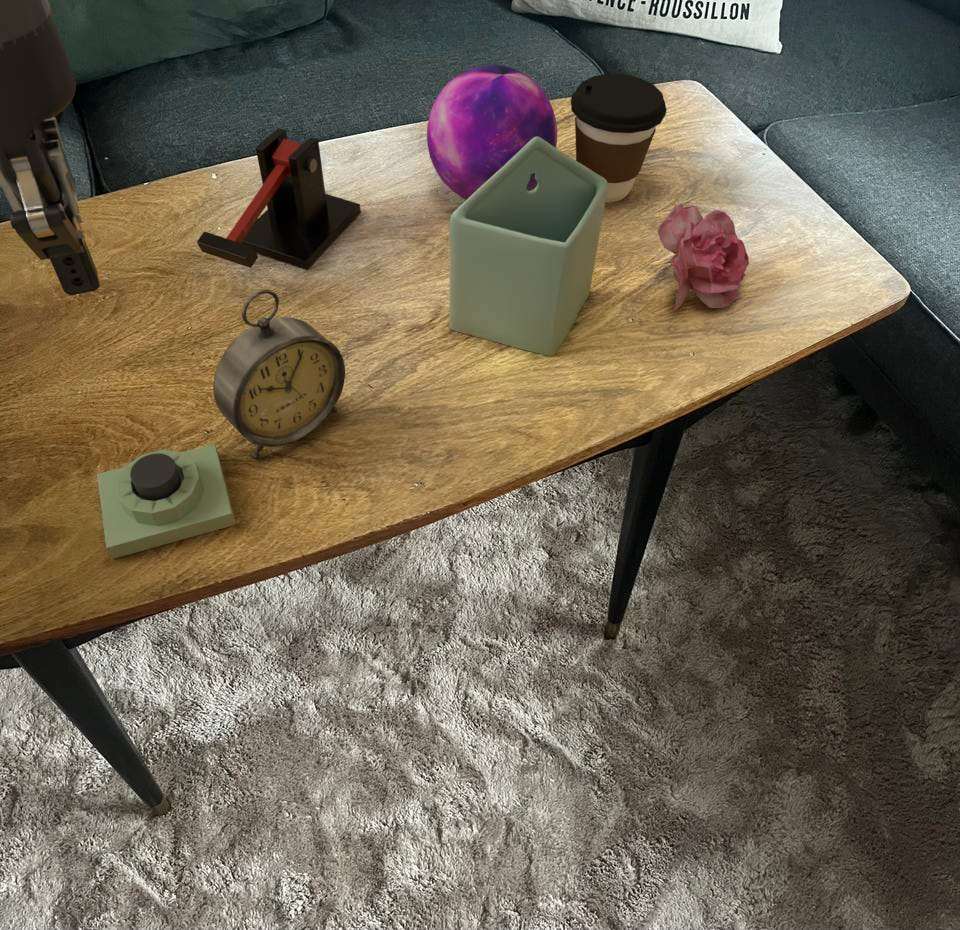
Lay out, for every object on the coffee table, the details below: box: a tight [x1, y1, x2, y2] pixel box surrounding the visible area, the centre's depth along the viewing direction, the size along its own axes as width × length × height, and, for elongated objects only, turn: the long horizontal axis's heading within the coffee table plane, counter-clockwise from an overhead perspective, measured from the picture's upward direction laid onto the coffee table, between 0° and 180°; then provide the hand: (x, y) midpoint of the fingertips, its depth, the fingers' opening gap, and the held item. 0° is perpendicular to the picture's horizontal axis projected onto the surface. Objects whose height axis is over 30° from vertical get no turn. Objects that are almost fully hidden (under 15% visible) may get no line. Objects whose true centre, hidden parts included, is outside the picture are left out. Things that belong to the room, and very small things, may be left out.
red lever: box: [196, 138, 303, 269], centre depth 87 cm, size 15×6×2 cm, turn 156°
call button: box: [130, 453, 181, 501], centre depth 68 cm, size 4×4×2 cm
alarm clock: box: [212, 288, 346, 460], centre depth 71 cm, size 11×5×16 cm, turn 131°
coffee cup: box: [570, 73, 668, 203], centre depth 98 cm, size 11×11×12 cm
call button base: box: [96, 443, 237, 560], centre depth 70 cm, size 10×8×4 cm
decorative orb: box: [426, 64, 558, 200], centre depth 96 cm, size 15×15×15 cm
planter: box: [448, 136, 608, 357], centre depth 78 cm, size 16×8×20 cm, turn 113°
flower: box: [650, 203, 750, 312], centre depth 89 cm, size 11×10×10 cm
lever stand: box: [241, 127, 361, 271], centre depth 92 cm, size 12×9×11 cm
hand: (82, 286), depth 55 cm, fingers closed
